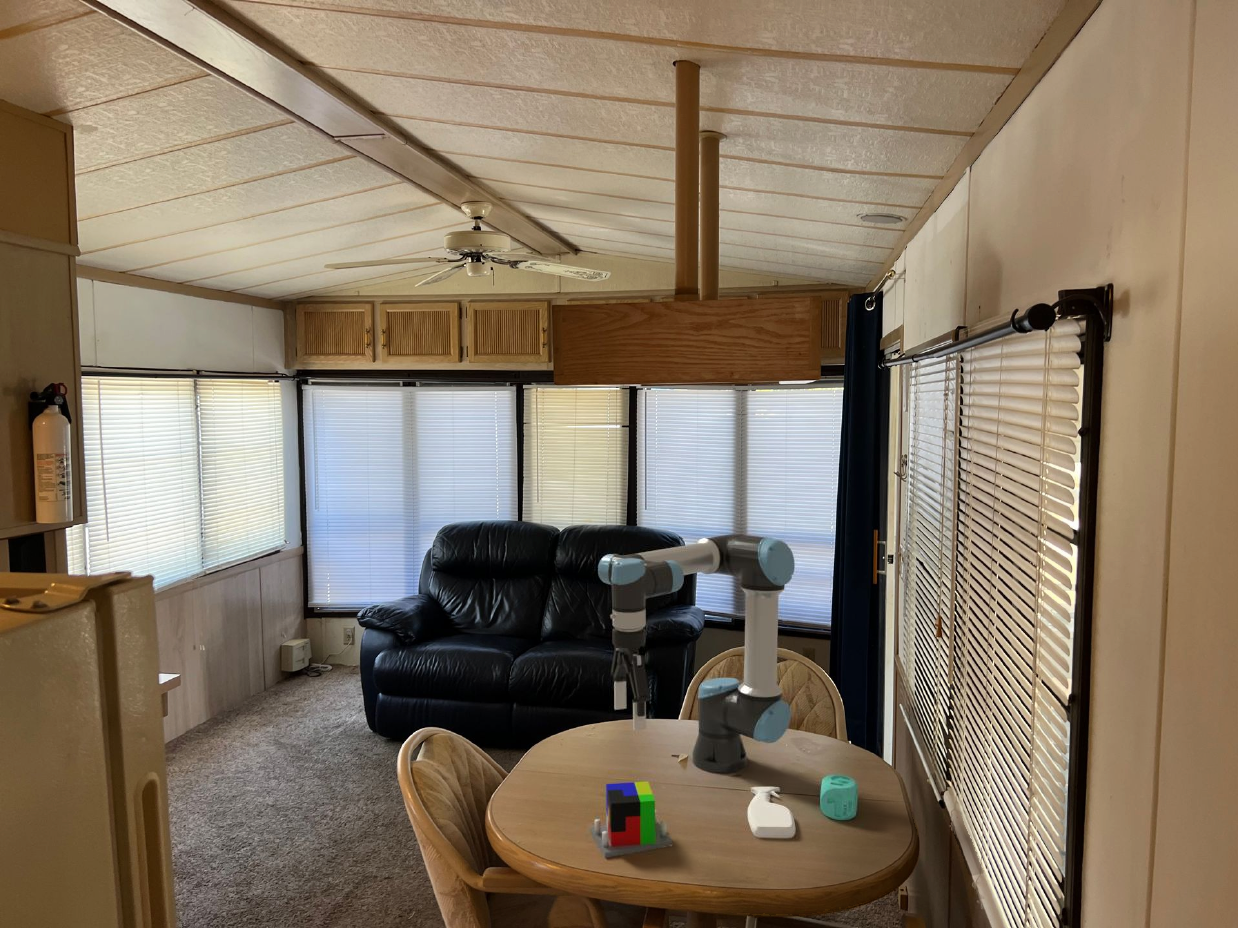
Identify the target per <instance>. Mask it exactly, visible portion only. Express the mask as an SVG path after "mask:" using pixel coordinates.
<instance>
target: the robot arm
mask: <svg viewBox="0 0 1238 928" xmlns="http://www.w3.org/2000/svg"><path fill="white" fill-rule="evenodd" d="M597 568H598V569H597V571H598V572H597V574H598V577H599V579H600V580H601V581H602V583H605V584H607V585H610V586H611V599H612V600H611V603H612V606H611V607H612V608H611V609H612V610H611V611H612V614H610V615H609V616H610V619H611V620H612V626H613V628H612V638H611V639H612V644H613V646H614V652H613V658H612V663H611V670H610V675H611V676H612V680H613V682H614V684H613V690H614V697H613V699H614V706H613V707H614V710H615V711H616V710H624V709H627V680H628V677H627V674H628V676H629V681H630V685H631V689H632V693H633V699H632V700H631V703H632V719H633V720H632V729H633V731H634V732H635V731H641V730H647V714H646V713H647V711H646V710H647V708H646V707H647V705H646V703H647V702H649V701H650V700H651V699H650V698H651V697H650V692H649V686H648V679H647V673H646V667H645V666H646V665H645V664H646V663H645V656H644V654H642V655H641V654H640V653H639V648H641V647H643V646H645V644H646V642H647V641H646V628H645V627H646V625H647V623H646V622H647V621H646V617H647V616H646V614H647V613H646V611H647V610H646V599H650V598H653V597H658V596H663V595H668V594H669V595H670V594H671V593H674V592H677V591H679V590H680V589H682V587H683V584H684V582H685V581H684V580H685V579H684V578H685V576H687V575H691V574H697V573H701V574H704V575H712V574H719V575H725V576H726V575H727V576H731V577H736V578H740V580H739V581H740V585H739V588H740V589H741V590H742V591H743V592H744V594H745V615H744V616H745V617H744V618H745V621H744V624H745V625H744V658H743V659H744V660H743V664H744V666H743V682H742V683H741V681H740V679H738V678H735V677H716V678H710V679H706V680H705V681H702V682H701V683H700V685H699V686H698V696H697V702H698V703H697V704H698V705H697V707H698V708H697V709H698V711H697V712H698V713H697V715H698V735H697V738H696V741H695V744H694V746H693V750H692V754H691V755H692V756H691V757H692V759H691V760H692V761H691V762H692V763H693V764H694V765H695V766H696V767H697V768H699V769H701V770H703V771H707V772H713V773H730V772H736V771H739V770H742V769H743V768H745V767H746V765H747V763H748V761H747V760H748V759H747V757H748V755H747V752H746V748H745V746H744V742H743V738H742V736H745V737H747V738H750V739H752V740H755V741H756V742H762V743H766V744H773V743H775V742H778V741H779V740H780V739H781V738H782V737H783V736H784V735H785V733H786V731H787V729H788V727H789V725H790V722H791V716H792V711H791V707H790V705H789V704H788V703H787V702H786V701H785V700H783V690H782V688H781V687H780V686H779V684H778V683H777V674H778V673H777V671H778V670H777V669H778V664H777V663H778V632H779V631H778V630H779V627H778V626H779V623H778V622H779V596H780V594H781V593H783V591H784V590H785V589H786V588H785V585H787V584H788V583H790V582H791V580H792V578H793V576H792V575H794V573H795V557H794V554H793V551H792V549H791V548H790V546H789V545H788V544H787V543H786V542H785V541H783V540H780V539H775V538H772V537H767V536H766V537H765V536H758V535H746V534H742V533H734V534H732V533H731V534H730V533H729V534H723V535H718V536H717V535H716V536H712V537H705V538H701V539H699V540H698V541H696V543H693V544H688V545H682V546H680V545H679V546H674V547H670V548H669V547H667V548H663V549H656V550H651V551H645V552H639V553H632V554H625V555H620V554H618V553H612V554H611V553H609V554H606V555H604V556H602V558H601V559H600V560H599V563H598V566H597ZM741 735H742V736H741Z"/></svg>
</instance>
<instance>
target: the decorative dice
mask: <svg viewBox="0 0 1238 928" xmlns="http://www.w3.org/2000/svg"><path fill="white" fill-rule="evenodd" d="M858 787H859V786H858V783H857V782H856V781H855V779H854V778H852V777H850V776H848V775H843V774H838V773H836V774H834V773H833V774H828V775H826V776H824V777H823V778H822V780H821V786H820V797H819V800H820V802H819V804H820V806H819V807H820V811H821V812H822V813H823V815H825V816H826V817H827V818H830V819H832V820H837V821H848V820H852V819H853V818H855V817H856V816H857V815H856V814H857V811H858V796H859V795H858V794H859V791H858V789H859V788H858Z"/></svg>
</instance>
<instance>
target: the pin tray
mask: <svg viewBox="0 0 1238 928" xmlns="http://www.w3.org/2000/svg"><path fill="white" fill-rule="evenodd" d="M601 823H602V822H601V819H600V818H595V819H594V826H590V827H589V833H590V835H591V837H592V838H593V840H594V842H595V844H596V845H597V847H598V848H599V850H600V853H601V854H602V855H603V857H604V859H607V858H613V857H619V856H624V855H628V854H629V855H630V854H634V853H635V852H636V853H642V852H645V851H644V850H647V851H652V850H656V849H655V848H658V849H661V848H660V847H663V846H669V847H671V846H670V845H672V846H673V840H672V839H671V837H670V836H669V835H668V833H667V822H666V821H665V820H663V821H660V823H659V822H658V810H657V809H655V844H642V845H628V846H614V847H611V843H610V839H609V834H608V830H607V824H604V825H601ZM663 848H664V847H663ZM651 849H652V850H651ZM618 855H619V856H618Z"/></svg>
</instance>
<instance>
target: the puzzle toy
mask: <svg viewBox="0 0 1238 928" xmlns="http://www.w3.org/2000/svg"><path fill="white" fill-rule="evenodd" d="M605 794H606V796H605V799H606V800H605V801H606V803H605V804H606V805H605V808H606V809H605V810H606V816H605V817H606V823H605V824H606V825H607V830H608V834H609V839H610V843H611V847H614V846H628V845H642V844H655V810H656V800H655V797H654V794H653V791H652V788H651V785H650V783H649V781H633V782H632V781H631V782H620V783H619V782H618V783H617V782H615V783H605Z"/></svg>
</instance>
